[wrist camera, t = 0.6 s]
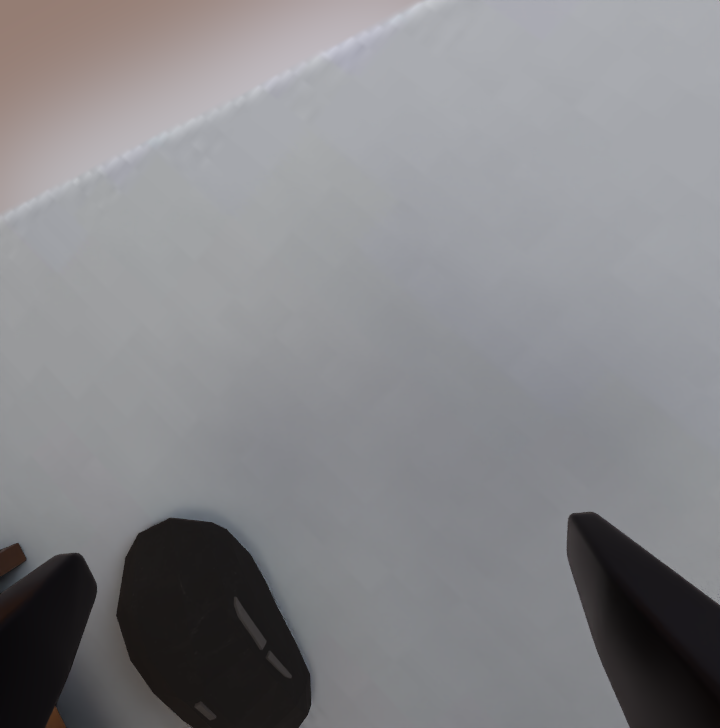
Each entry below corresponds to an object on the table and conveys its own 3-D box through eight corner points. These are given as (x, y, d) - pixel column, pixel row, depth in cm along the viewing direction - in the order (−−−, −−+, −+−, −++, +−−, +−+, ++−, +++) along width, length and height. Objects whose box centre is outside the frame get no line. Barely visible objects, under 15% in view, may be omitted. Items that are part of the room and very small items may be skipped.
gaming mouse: (259, 797, 25) (228, 890, 21) (113, 542, 24) (52, 589, 20) (369, 757, 24) (358, 847, 20) (219, 489, 23) (176, 527, 19)
